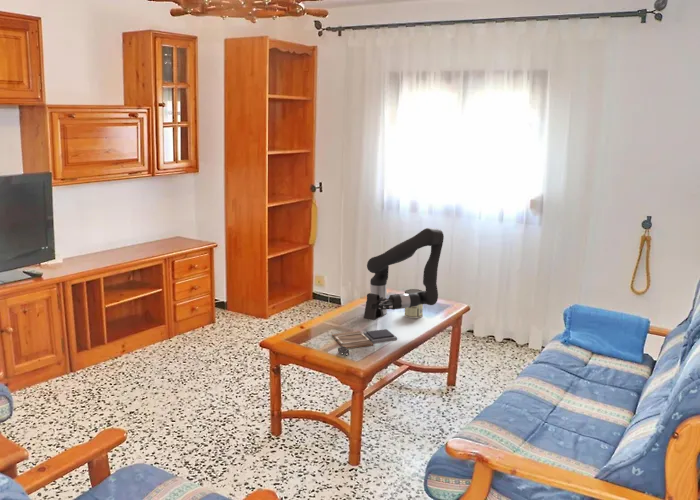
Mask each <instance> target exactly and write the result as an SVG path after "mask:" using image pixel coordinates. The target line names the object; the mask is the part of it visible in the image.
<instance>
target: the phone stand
mask: <svg viewBox="0 0 700 500" xmlns="http://www.w3.org/2000/svg"><path fill="white" fill-rule="evenodd" d="M366 301H367V302H366ZM366 301H365V308H364V314H363V319H366V320H370V321H376V320H378V319H380V318H382V317H384V316H385V314H383V310H381V309H378V308H375V309H371V304H379V303H380V296H379V295H377V294H371V293H370V292H368V293H367V294H366Z"/></svg>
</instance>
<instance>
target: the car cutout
mask: <svg viewBox="0 0 700 500" xmlns="http://www.w3.org/2000/svg"><path fill="white" fill-rule="evenodd" d="M338 353H343V354H342V355H344V354H346V355H348V356H349V355H351V354H350V349H347V348H346V347H344V346H341V345H340V346H339V347H338V348H337V354H338ZM346 355H345V356H346Z"/></svg>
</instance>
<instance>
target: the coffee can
mask: <svg viewBox="0 0 700 500" xmlns="http://www.w3.org/2000/svg"><path fill="white" fill-rule="evenodd" d="M420 291H423V289H422V290H421V289H416V288H410V289H406V290H404V294H408V293H416V292H420ZM423 306H424V304H420V305H418V306H414V307H407V308H404V316H405V317H406V318H409V319H420V318H422V317H423V315H424V314H423V313H424V312H423V311H424V308H423Z"/></svg>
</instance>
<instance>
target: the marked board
mask: <svg viewBox="0 0 700 500" xmlns="http://www.w3.org/2000/svg"><path fill="white" fill-rule="evenodd" d="M331 336H333V337H334V338H335V339H336V340H337V341H336V340H335V339H334V338H333V337H332V338H333V339H334V340H335V341H336V343H338V344H339V345H340V347H341V346H344V347H346V348H347V349H348V348H350V349H356V347H358V348H364V347H372V346H374V343H372V342H371V341H370V340H369V339H368V338H367V337H366V336H365V335H364V332H361V330H356V331H347V332H338V333H332V334H331ZM348 350H349V349H348Z"/></svg>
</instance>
